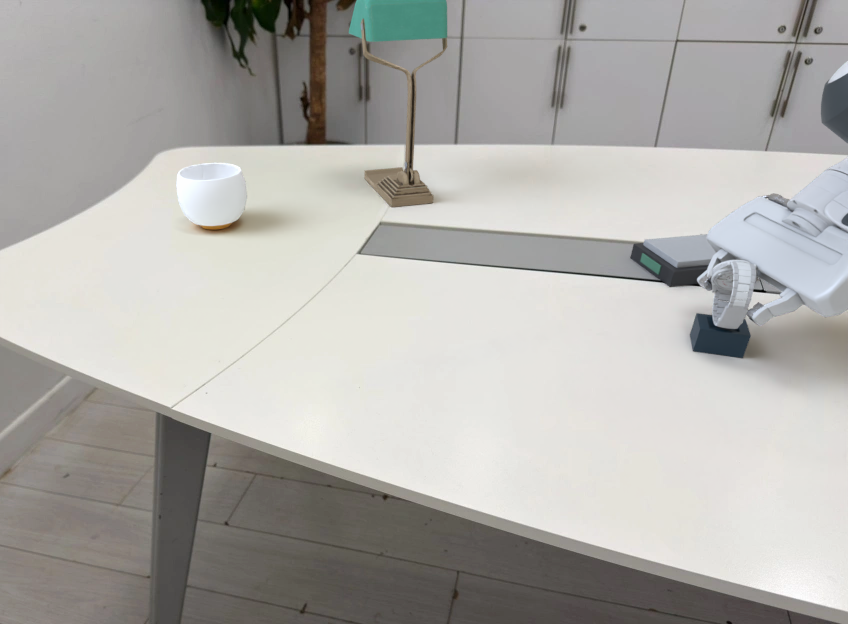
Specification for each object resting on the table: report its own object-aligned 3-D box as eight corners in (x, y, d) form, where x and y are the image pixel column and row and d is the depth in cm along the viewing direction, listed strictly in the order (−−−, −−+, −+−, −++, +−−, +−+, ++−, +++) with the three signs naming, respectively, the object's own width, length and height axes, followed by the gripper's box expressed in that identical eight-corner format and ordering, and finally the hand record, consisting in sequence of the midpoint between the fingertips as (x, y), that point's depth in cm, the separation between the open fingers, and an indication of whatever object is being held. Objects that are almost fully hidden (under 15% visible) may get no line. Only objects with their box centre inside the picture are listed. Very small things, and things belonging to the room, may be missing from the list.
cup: (191, 241, 116) (183, 185, 111) (175, 219, 126) (167, 167, 120) (258, 229, 120) (254, 175, 115) (238, 209, 130) (233, 158, 124)
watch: (735, 333, 86) (763, 253, 80) (744, 365, 80) (776, 281, 74) (687, 327, 88) (712, 248, 82) (693, 358, 82) (720, 275, 75)
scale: (710, 250, 109) (716, 230, 107) (756, 278, 100) (764, 257, 98) (628, 257, 107) (633, 237, 105) (668, 286, 98) (674, 265, 96)
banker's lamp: (372, 208, 129) (375, -2, 109) (346, 178, 146) (344, -9, 126) (450, 201, 132) (466, -5, 112) (415, 172, 148) (423, -12, 129)
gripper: (756, 173, 83) (664, 253, 88) (897, 230, 67) (775, 327, 71) (776, 205, 86) (686, 281, 91) (916, 269, 70) (797, 359, 74)
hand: (726, 302), depth 80 cm, fingers closed on watch, 8 cm apart
